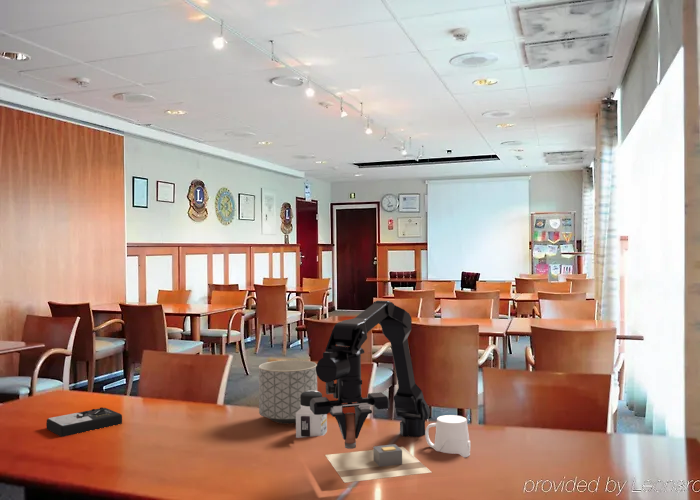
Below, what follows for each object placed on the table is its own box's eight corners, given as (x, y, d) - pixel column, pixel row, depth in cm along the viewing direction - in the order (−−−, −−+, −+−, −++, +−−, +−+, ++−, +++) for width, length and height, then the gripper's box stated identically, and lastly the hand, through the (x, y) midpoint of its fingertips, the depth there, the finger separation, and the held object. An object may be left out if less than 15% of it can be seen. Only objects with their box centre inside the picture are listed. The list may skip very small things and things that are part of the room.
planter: (286, 410, 209) (285, 358, 209) (329, 418, 198) (328, 363, 198) (247, 422, 194) (246, 366, 194) (291, 432, 182) (290, 373, 183)
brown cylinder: (354, 444, 147) (353, 412, 147) (357, 448, 144) (356, 414, 144) (343, 445, 146) (343, 413, 146) (346, 449, 143) (345, 415, 143)
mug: (471, 416, 164) (468, 424, 156) (471, 450, 164) (468, 459, 156) (427, 413, 168) (422, 421, 160) (428, 446, 168) (423, 456, 160)
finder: (395, 457, 155) (395, 443, 155) (402, 464, 150) (402, 449, 150) (373, 460, 154) (373, 445, 154) (379, 466, 149) (379, 451, 149)
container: (321, 439, 175) (320, 395, 175) (295, 438, 176) (295, 394, 177) (327, 432, 182) (326, 389, 183) (302, 430, 184) (302, 388, 184)
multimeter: (122, 425, 194) (122, 409, 195) (61, 438, 181) (61, 422, 181) (105, 417, 204) (105, 403, 204) (45, 430, 190) (45, 414, 190)
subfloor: (403, 451, 164) (403, 446, 164) (432, 477, 145) (432, 472, 145) (325, 459, 158) (325, 455, 158) (344, 487, 139) (344, 482, 139)
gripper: (375, 365, 155) (376, 425, 155) (305, 370, 150) (306, 432, 150) (389, 374, 145) (390, 438, 145) (314, 379, 140) (315, 446, 140)
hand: (350, 438), depth 145 cm, fingers closed on brown cylinder, 3 cm apart
